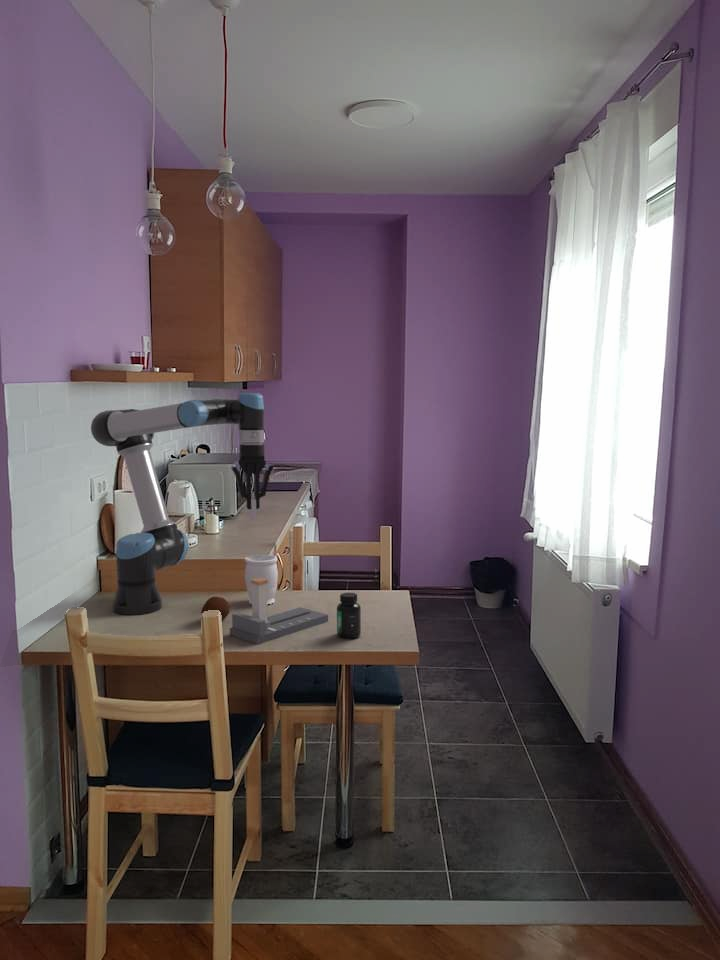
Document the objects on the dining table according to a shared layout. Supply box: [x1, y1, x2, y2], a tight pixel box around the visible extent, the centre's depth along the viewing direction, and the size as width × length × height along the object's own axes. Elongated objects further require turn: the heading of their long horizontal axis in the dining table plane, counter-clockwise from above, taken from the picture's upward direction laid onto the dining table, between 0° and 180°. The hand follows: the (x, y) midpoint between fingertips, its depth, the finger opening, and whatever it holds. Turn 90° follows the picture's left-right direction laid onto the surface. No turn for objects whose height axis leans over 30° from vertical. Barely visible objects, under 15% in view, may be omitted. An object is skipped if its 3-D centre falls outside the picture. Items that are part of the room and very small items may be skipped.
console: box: [229, 607, 329, 645], centre depth 229 cm, size 28×12×6 cm, turn 138°
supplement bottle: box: [336, 592, 362, 640], centre depth 222 cm, size 7×7×12 cm
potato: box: [200, 596, 231, 621], centre depth 235 cm, size 8×12×8 cm, turn 166°
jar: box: [244, 554, 279, 606], centre depth 255 cm, size 11×10×15 cm
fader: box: [251, 578, 271, 628], centre depth 223 cm, size 4×5×14 cm
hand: (253, 519), depth 243 cm, fingers closed
